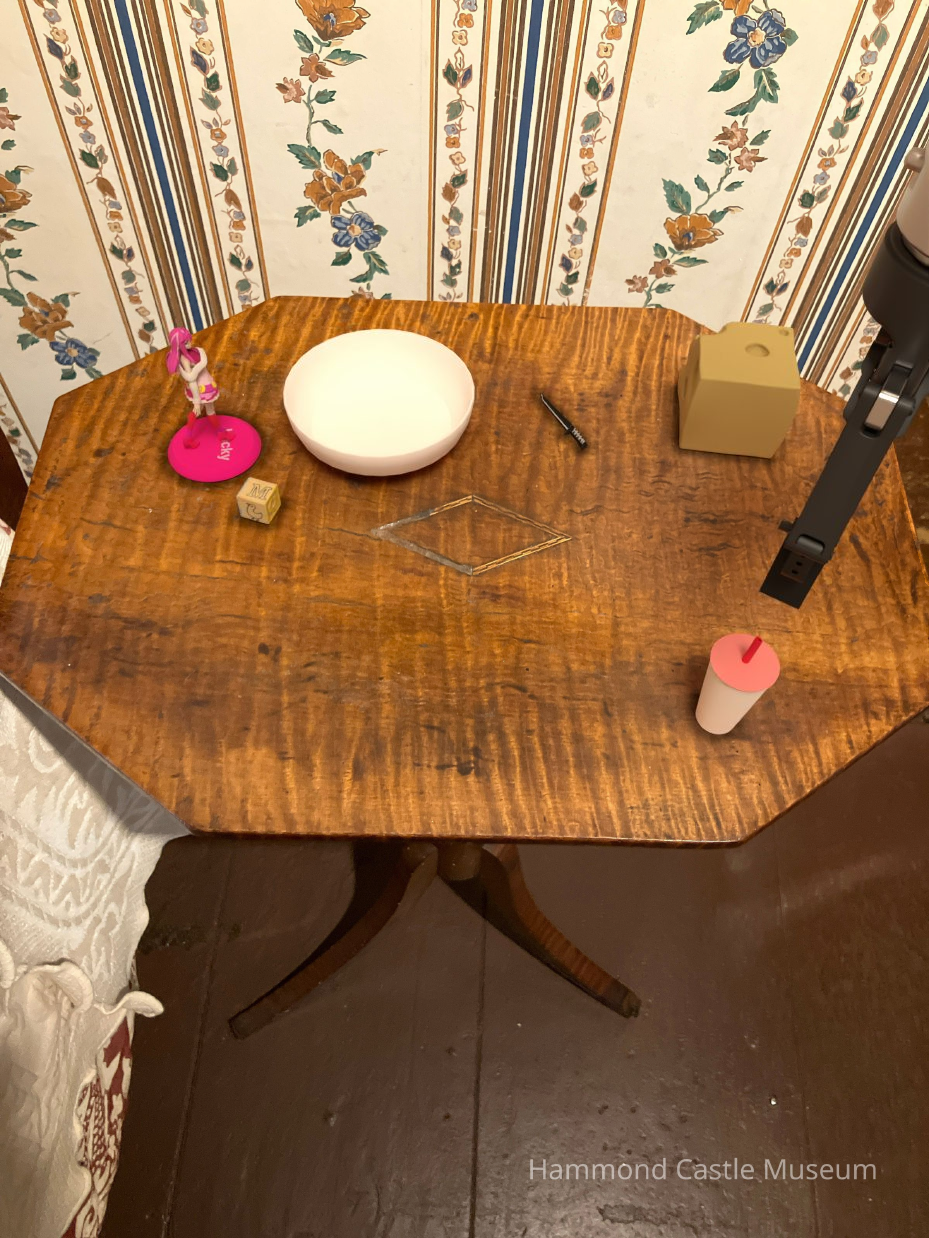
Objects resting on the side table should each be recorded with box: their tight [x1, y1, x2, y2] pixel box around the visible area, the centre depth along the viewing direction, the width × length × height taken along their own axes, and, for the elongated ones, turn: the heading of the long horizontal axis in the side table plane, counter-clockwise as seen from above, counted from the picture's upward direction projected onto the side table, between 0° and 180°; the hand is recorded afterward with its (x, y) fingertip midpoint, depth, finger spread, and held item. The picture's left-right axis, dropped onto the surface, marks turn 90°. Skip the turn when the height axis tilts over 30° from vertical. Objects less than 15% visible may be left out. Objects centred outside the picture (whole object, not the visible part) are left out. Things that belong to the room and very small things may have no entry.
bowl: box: [282, 328, 476, 477], centre depth 92 cm, size 20×20×6 cm
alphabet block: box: [235, 476, 282, 525], centre depth 86 cm, size 3×3×3 cm
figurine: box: [165, 326, 262, 483], centre depth 86 cm, size 10×10×15 cm
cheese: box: [677, 321, 802, 459], centre depth 92 cm, size 10×11×10 cm
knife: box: [540, 393, 588, 450], centre depth 96 cm, size 10×2×1 cm, turn 26°
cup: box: [695, 632, 781, 735], centre depth 71 cm, size 5×5×12 cm
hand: (814, 529), depth 60 cm, fingers open, 13 cm apart
